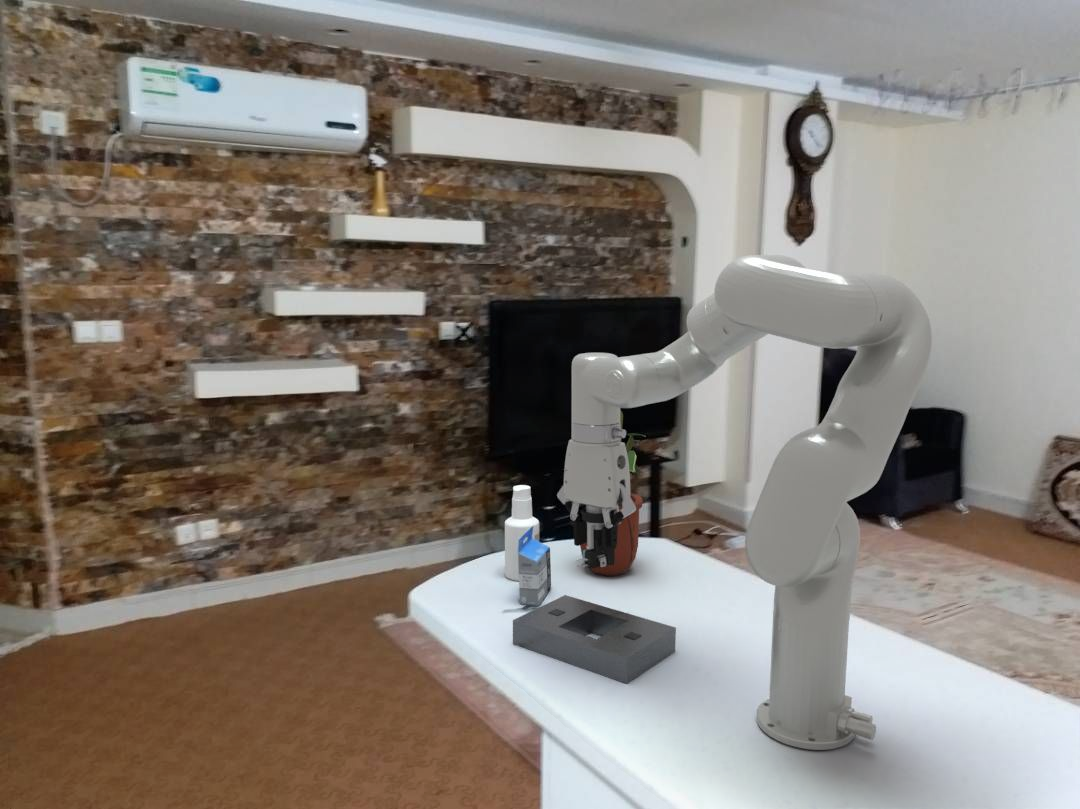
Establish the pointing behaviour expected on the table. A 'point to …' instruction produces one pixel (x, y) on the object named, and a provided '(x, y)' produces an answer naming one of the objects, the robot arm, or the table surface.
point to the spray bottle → (518, 528)
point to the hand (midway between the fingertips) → (595, 545)
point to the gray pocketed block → (614, 655)
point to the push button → (595, 540)
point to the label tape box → (533, 570)
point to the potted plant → (624, 525)
